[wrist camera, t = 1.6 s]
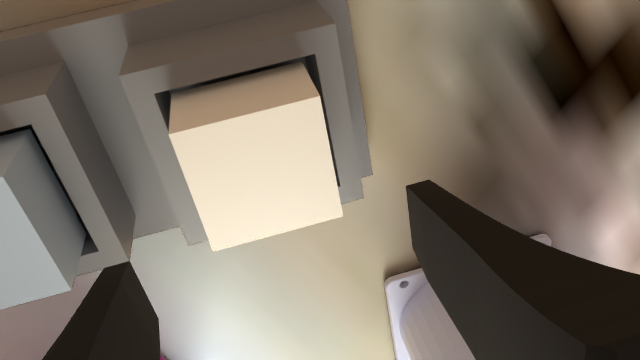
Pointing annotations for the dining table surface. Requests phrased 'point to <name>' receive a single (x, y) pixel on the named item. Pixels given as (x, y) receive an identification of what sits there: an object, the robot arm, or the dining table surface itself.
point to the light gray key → (34, 225)
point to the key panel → (164, 101)
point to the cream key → (255, 155)
